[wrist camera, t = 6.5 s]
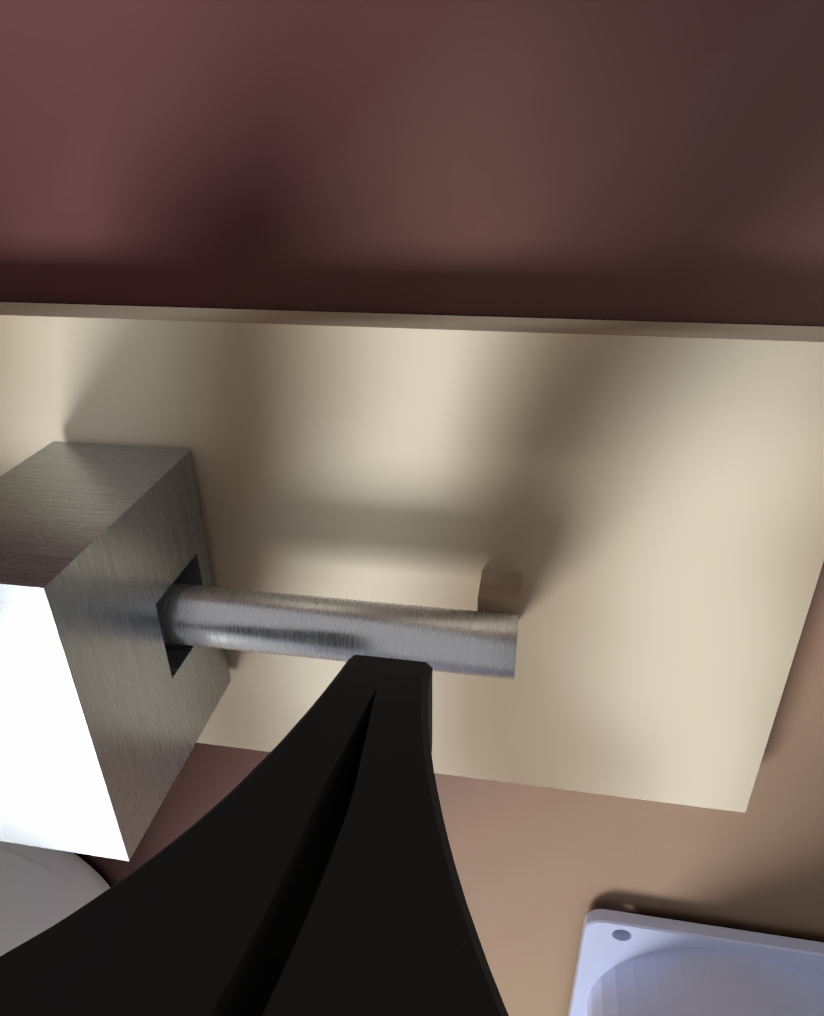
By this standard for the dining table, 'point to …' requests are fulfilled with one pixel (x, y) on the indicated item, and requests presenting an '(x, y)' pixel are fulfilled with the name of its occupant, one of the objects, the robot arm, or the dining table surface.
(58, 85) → the dining table surface
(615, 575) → the bolt board
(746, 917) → the dining table surface
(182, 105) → the dining table surface
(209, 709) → the grey block with hole
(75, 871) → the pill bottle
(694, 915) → the dining table surface
